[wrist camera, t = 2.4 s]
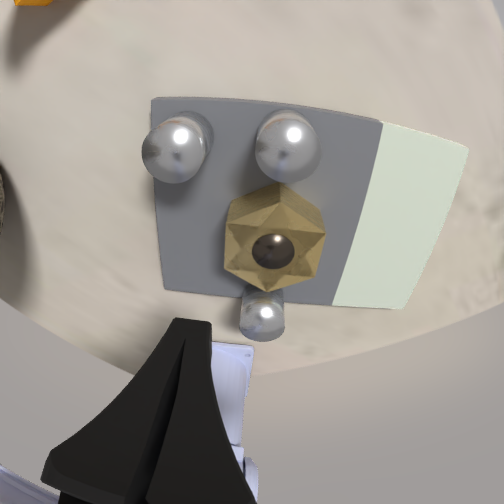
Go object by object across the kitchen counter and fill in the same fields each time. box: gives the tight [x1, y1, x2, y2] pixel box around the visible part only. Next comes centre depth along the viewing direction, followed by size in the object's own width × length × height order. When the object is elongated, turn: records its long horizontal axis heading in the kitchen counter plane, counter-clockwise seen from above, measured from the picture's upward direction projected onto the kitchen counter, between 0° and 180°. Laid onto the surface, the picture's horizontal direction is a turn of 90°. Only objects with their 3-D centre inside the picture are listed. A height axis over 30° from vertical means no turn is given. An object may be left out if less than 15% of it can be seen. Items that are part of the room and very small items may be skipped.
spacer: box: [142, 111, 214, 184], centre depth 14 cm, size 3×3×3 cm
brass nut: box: [224, 181, 326, 292], centre depth 17 cm, size 6×5×3 cm
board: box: [151, 97, 469, 309], centre depth 18 cm, size 13×18×1 cm
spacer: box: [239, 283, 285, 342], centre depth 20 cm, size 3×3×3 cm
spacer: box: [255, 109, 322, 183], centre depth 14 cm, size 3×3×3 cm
